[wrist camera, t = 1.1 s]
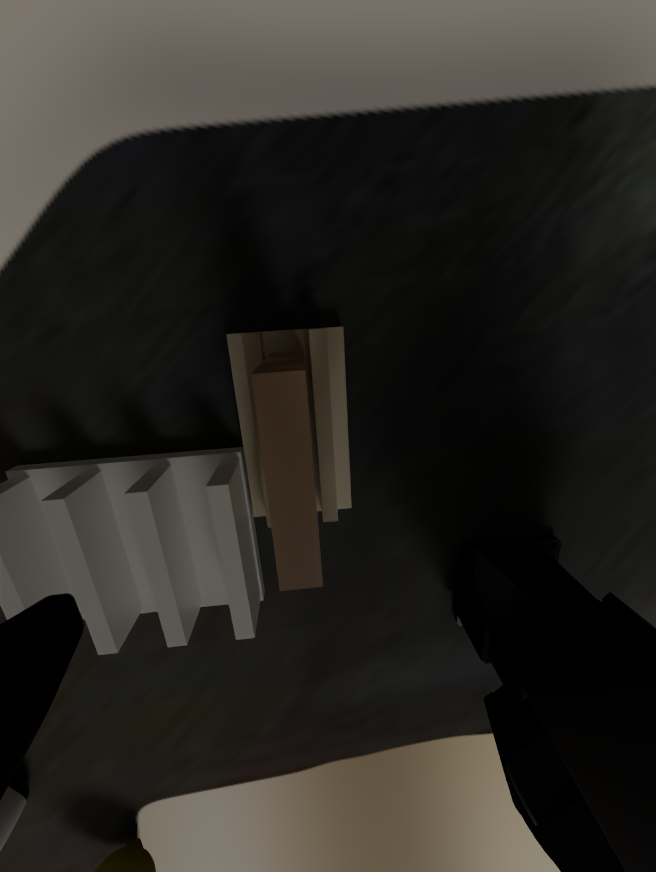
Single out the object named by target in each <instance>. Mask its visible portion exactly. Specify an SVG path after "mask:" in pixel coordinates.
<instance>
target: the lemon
mask: <svg viewBox="0 0 656 872" xmlns="http://www.w3.org/2000/svg"><path fill="white" fill-rule="evenodd" d="M95 872H156V870H155V864H154V861H153V859H152V857H151V855H150V854H149V852H148V851H147V850H145V849H144V848H143V845H142V842H141V840H140V839H139V838H134V839H133V840H132V841H130V842H129V843H128V844H127V845H126V846H125V847H122V848H120V849H118V850H116V851H114V852H113V853H112V854H111V855H109V856H108V857H107V858H106V859H105V860H104V861H103V862H102V863H101V864H100V865H99V866H98V868H97V869H96V870H95Z"/></svg>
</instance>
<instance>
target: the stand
mask: <svg viewBox="0 0 656 872" xmlns="http://www.w3.org/2000/svg"><path fill="white" fill-rule="evenodd" d="M226 335H227V342H228V349H229V355H230V362H231V368H232V375H233V382H234V388H235V395H236V401H237V408H238V415H239V421H240V428H241V434H242V441H243V448H244V454H245V461H246V467H247V474H248V481H249V487H250V494H251V500H252V507H253V514H254V517H259V516H266V517H267V525H268V527H271V520H270V513H269V505H268V498H267V490H266V483H265V475H264V468H263V461H262V453H261V446H260V438H259V431H258V423H257V416H256V408H255V401H254V393H253V386H252V378H251V374H252V372H253V371H254V370H255V369H256V368H257V367H258V366H259V365H260V364H261V363H262V362H263V361H264V360H265V359H266V358H267V357H268V356H269V355H270V354H271V353H279V352H293V351H304V360H305V372H306V384H307V396H308V409H309V421H310V433H311V445H312V457H313V469H314V481H315V493H316V506H317V511H322V514H323V522H331V521H338V511H337V509H345V508H351V487H350V465H349V443H348V420H347V398H346V376H345V354H344V332H343V327H342V326H341V327H326V328H311V329H296V330H281V331H266V332H251V333H236V334H226Z"/></svg>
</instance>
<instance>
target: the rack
mask: <svg viewBox="0 0 656 872" xmlns="http://www.w3.org/2000/svg"><path fill="white" fill-rule="evenodd" d="M6 475H7V477H8V480H7V481H5V482H3V483H1V484H0V606H1V608H2V610H3V612H4V614H5V616H6V618H7V620H8V619H10V618H12V617H13V616H15V615H17V614H18V613H20V612H22V611H23V610H25V609H27V608H28V607H30V606H32V605H33V604H35V603H37V602H38V601H40V600H42V599H43V598H45V597H47V596H49V595H54V594H63V593H69V594H71V595H73V596H74V598H75V601H76V603H77V606H78V608H79V611H80V613H81V616H82V618H83V619H85V621H86V623H87V626H88V629H89V631H90V634H91V637H92V639H93V642H94V645H95V647H96V650H97V653H98V655H103V654H112V653H118V652H119V650H120V648H121V646H122V644H123V643H124V641H125V639H126V637H127V635H128V634H129V632H130V630H131V628H132V626H133V625H134V623H135V621H136V619H137V617H138V616H139V614H140V613H149V612H158V614H159V618H160V621H161V625H162V628H163V632H164V635H165V639H166V642H167V646H168V647H175V646H184V645H187V644H188V641H189V638H190V635H191V632H192V630H193V627H194V624H195V621H196V618H197V615H198V613H199V610H200V607H206V606H215V605H225V604H229V607H230V612H231V617H232V622H233V627H234V632H235V637H236V640H239V639H248V638H255V633H256V626H257V619H258V612H259V606H260V601H263V600H264V592H265V590H264V583H263V577H262V570H261V563H260V557H259V550H258V544H257V537H256V531H255V524H254V517H253V511H252V504H251V498H250V491H249V484H248V478H247V471H246V465H245V458H244V452H243V447H235V448H223V449H211V450H199V451H186V452H174V453H162V454H150V455H138V456H126V457H114V458H102V459H90V460H78V461H66V462H54V463H42V464H29V465H17V466H15V467H14V468H12V469H10V470H8V471H6Z"/></svg>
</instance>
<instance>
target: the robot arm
mask: <svg viewBox="0 0 656 872" xmlns="http://www.w3.org/2000/svg"><path fill="white" fill-rule="evenodd" d="M551 543H552V544H551ZM550 544H551V545H550ZM560 548H561V542H560V540H559V539H557V538H556V537H555V536H552V535H549V536H539V537H529V538H519V539H509V540H499V541H489V542H479V543H469V544H465V545H463V546H462V547H461V548H460V553H459V566H458V575H457V576H456V578H455V585H454V599H453V608H454V610H455V620H456V622H457V624H458V625H459V626H463V627H464V629H465V631H466V633H467V634H468V636H469V638H470V640H471V642H472V644H473V646H474V648H475V650H476V651H477V653H478V655H479V657H480V659H481V660H482V661H483V662H484V663H485V664H489V663H492V665H493V667H494V669H495V670H496V672H497V674H498V676H499V678H500V679H501V681H502V683H503V685H502V686H501V687H500V688H499V689H497V690H496V691H495V692H494V693H492V692H491V693H489V694H488V695H487V696H486V697H485V698H484V703H485V707H486V710H487V714H488V717H489V721H490V724H491V728H492V731H493V735H494V738H495V742H496V745H497V749H498V753H499V756H500V759H501V763H502V766H503V770H504V773H505V777H506V781H507V783H508V786H509V790H510V794H511V797H512V800H513V803H514V805H515V807H516V809H517V810H518V812H519V813H520V814H521V815H522V817H523V819H524V821H525V823H526V824H527V826H528V827H529V829H530V830H531V832H532V833H533V835H534V837H535V838H536V840H537V841H538V843H539V844H540V845H541V847H542V848H543V850H544V851H545V852H546V853H547V855H548V856H549V857H550V858H551V859H552V860H553V862H554V863H555V864H556V866H557V867H558V868H559V870H560V871H561V872H656V628H655V627H654V626H652V625H651V624H650V623H649V622H647V621H646V620H645V619H644V618H642V617H641V616H640V615H639V614H637V613H636V612H635V611H634V610H632V609H631V608H630V607H629V606H627V605H626V604H625V603H624V602H622V601H621V600H620V599H618V598H617V597H616V596H615V595H613V594H612V593H611V592H610V593H609V594H607V595H606V596H605V597H604V598H603V599H602V600H603V602H601V601H599V600H597V599H596V598H595V597H594V596H593V595H592V594H591V593H589V592H588V591H587V590H586V589H585V588H584V587H583V586H582V585H581V584H580V583H579V582H578V581H577V580H576V579H575V578H574V577H572V576H571V575H570V574H569V573H568V572H567V571H566V570H565V569H564V568H563V567H562V566H561V565H560V564H559V563H558V558H559V553H560ZM468 551H470V552H469V553H467V552H468ZM83 629H84V621H83V618H82V616H81V613H80V611H79V608H78V606H77V603H76V601H75V598H74V596H73V595H71V594H69V593H63V594H54V595H49V596H47V597H45V598H43V599H42V600H40V601H38V602H37V603H35V604H33V605H32V606H30V607H28V608H27V609H25V610H23V611H22V612H20V613H18V614H17V615H15V616H13V617H12V618H10V619H8V620H7V621H5V622H3V623H2V624H0V801H1V799H2V797H3V795H4V793H5V791H6V790H7V788H8V786H9V784H10V782H11V780H12V778H13V777H14V775H15V773H16V771H17V769H18V767H19V765H20V764H21V762H22V760H23V758H24V756H25V754H26V752H27V750H28V749H29V747H30V745H31V743H32V741H33V739H34V737H35V736H36V734H37V732H38V730H39V728H40V726H41V724H42V722H43V720H44V718H45V716H46V715H47V712H48V710H49V708H50V706H51V704H52V702H53V700H54V697H55V695H56V693H57V691H58V688H59V686H60V684H61V681H62V679H63V677H64V675H65V672H66V670H67V668H68V665H69V663H70V661H71V659H72V656H73V654H74V652H75V650H76V647H77V645H78V643H79V640H80V638H81V636H82V633H83Z"/></svg>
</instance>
